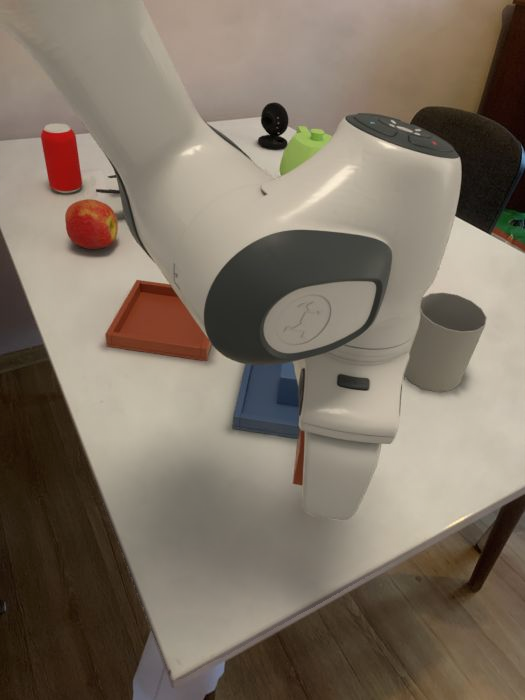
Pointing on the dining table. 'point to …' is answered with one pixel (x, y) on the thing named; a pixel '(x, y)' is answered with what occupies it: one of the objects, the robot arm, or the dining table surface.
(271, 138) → the webcam
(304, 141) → the teapot
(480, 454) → the dining table surface
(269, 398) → the blue tray
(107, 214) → the apple
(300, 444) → the rust block
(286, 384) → the blue block
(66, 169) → the beverage can
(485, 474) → the dining table surface
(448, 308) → the cup
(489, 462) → the dining table surface
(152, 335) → the rust tray
